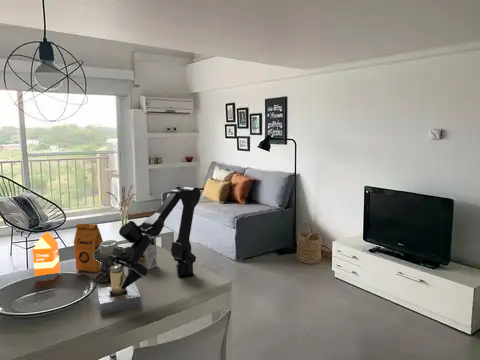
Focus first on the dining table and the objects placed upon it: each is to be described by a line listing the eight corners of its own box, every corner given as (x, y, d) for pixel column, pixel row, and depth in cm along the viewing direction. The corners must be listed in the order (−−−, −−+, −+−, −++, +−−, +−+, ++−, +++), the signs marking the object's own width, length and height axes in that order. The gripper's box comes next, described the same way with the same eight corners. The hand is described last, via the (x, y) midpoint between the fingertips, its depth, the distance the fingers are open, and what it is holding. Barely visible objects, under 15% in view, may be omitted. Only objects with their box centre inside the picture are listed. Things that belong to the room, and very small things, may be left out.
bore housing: (135, 292, 152) (134, 282, 151) (141, 306, 139) (140, 296, 139) (98, 298, 146) (97, 288, 146) (100, 314, 134) (99, 303, 133)
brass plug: (125, 298, 146) (122, 263, 144) (126, 304, 142) (124, 267, 140) (111, 301, 144) (109, 265, 142) (113, 306, 140) (110, 270, 138)
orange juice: (35, 282, 164) (31, 237, 161) (42, 274, 173) (38, 231, 170) (54, 280, 165) (50, 236, 163) (60, 273, 174) (57, 230, 171)
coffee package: (95, 274, 171) (92, 227, 168) (72, 272, 175) (69, 225, 172) (109, 267, 181) (106, 221, 178) (87, 264, 184) (84, 220, 182)
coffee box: (134, 266, 181) (132, 233, 179) (144, 262, 186) (142, 230, 184) (148, 270, 176) (146, 236, 174) (158, 265, 181) (156, 232, 179)
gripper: (110, 234, 149) (85, 270, 141) (139, 242, 137) (115, 281, 130) (128, 248, 156) (106, 283, 149) (158, 257, 144) (135, 295, 137)
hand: (114, 285), depth 141 cm, fingers open, 9 cm apart
